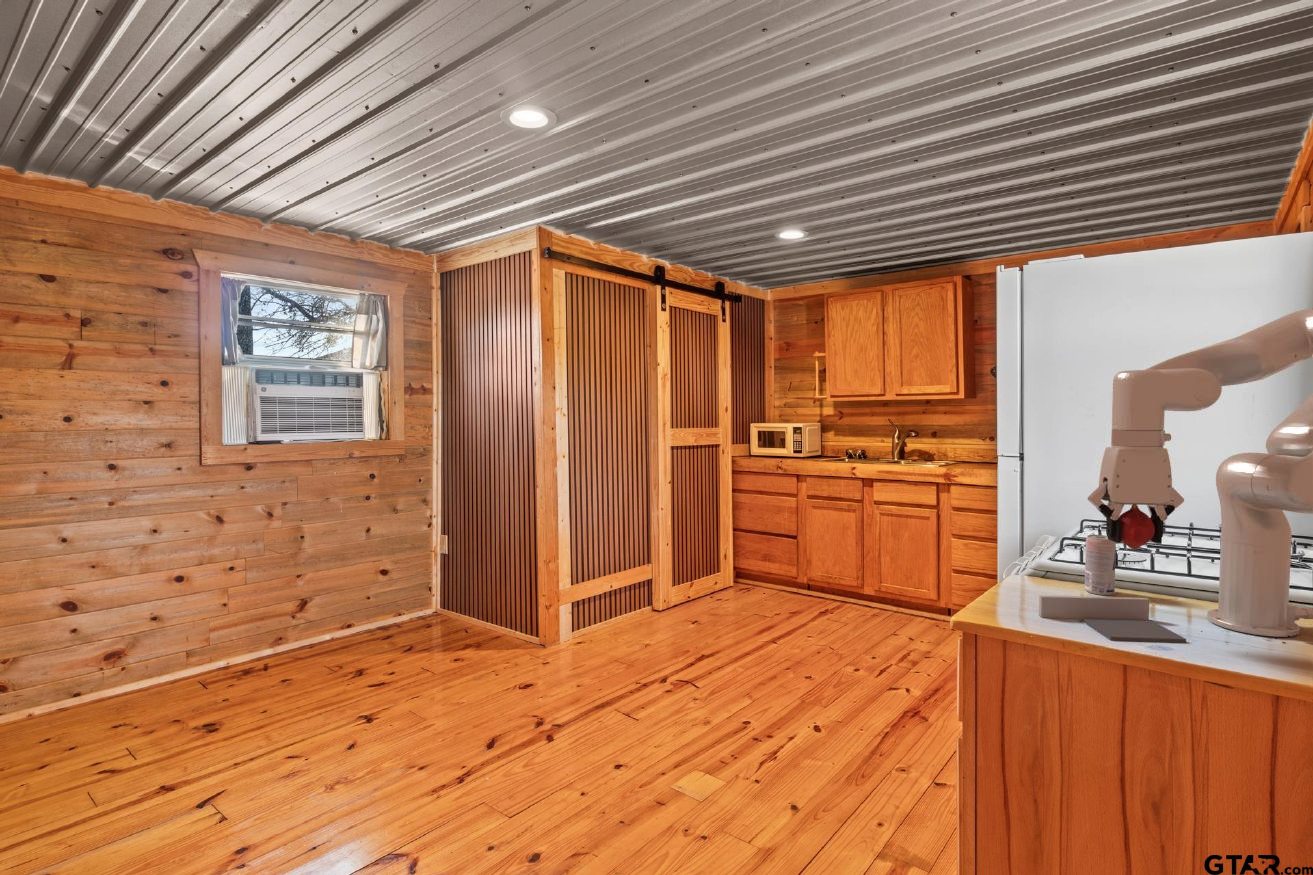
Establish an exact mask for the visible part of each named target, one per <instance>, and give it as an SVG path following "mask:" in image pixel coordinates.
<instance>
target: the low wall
mask: <svg viewBox="0 0 1313 875" xmlns="http://www.w3.org/2000/svg"><path fill="white" fill-rule="evenodd" d="M1038 604H1039V605H1038V616H1039V617H1040V618H1041V617H1052V619H1079V620H1082V618H1100V619H1137V620H1150V599H1149V598H1146V597H1126V596H1125V597H1117V596H1115V597H1114V596H1083V595H1082V596H1078V595H1076V596H1075V595H1042V594H1040V595H1039V596H1038ZM1057 617H1058V618H1057Z"/></svg>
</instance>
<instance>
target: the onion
mask: <svg viewBox="0 0 1313 875" xmlns="http://www.w3.org/2000/svg"><path fill="white" fill-rule="evenodd" d="M1150 518H1151V516H1149V515H1148V514H1146V513H1145V512H1144V511H1142V510H1141V509H1140V508H1139V506H1138V505H1131V508H1130V509H1128V510H1126V511H1124V512H1123V513H1122V514H1120V516H1119V520H1121V521H1122V541H1121V542H1122V543H1123V544H1124V545H1126V546H1127V547H1128V548H1130V549H1132V550H1138V549H1139V548H1140V547H1142V546H1144V545H1146V544H1148V543H1149V542H1151V541H1150V540H1151V539H1152V538H1153V536H1154V533H1155V527H1154V524H1153V522H1152V520H1151V519H1150Z"/></svg>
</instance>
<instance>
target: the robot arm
mask: <svg viewBox="0 0 1313 875" xmlns="http://www.w3.org/2000/svg"><path fill="white" fill-rule="evenodd" d="M1311 358H1312V359H1313V308H1307V309H1301V310H1297V311H1294V312H1290V313H1289V314H1285V315H1283V316H1281V317H1280V318H1277V319H1274V320H1273V321H1270V322H1268V323H1265V324H1264V325H1263V324H1262V325H1261V326H1258V327H1256V328H1254V329H1252V330H1250V331H1247V332H1245V333H1243V334H1241V335H1238V336H1235V337H1233V338H1231V339H1227V340H1224V341H1220V342H1217V343H1214V344H1211V345H1207V346H1205V347H1202V348H1199V349H1196V350H1191V351H1189V352H1186V353H1182V354H1179V355H1176V356H1174V357H1171V358H1167V359H1166V360H1164V361H1161V362H1159V363H1157V364H1155V365H1152V366H1150V367H1148V368H1145V369H1135V370H1134V369H1131V370H1121V371H1119V372H1117V373H1115V375H1114V377H1113V380H1112V381H1113V382H1112V404H1111V405H1112V410H1111V441H1110V442H1111V443H1110V445H1111V446H1109V447H1108V446H1107V447H1105V450H1104V453H1103V457H1102V461H1101V465H1100V472H1099V479H1098V487H1097V488H1096V489H1095V490H1094V491H1093V492H1091V494H1090V495H1089V496H1088V497H1087V501H1088V502H1089V503H1090V504H1091V505H1093V507H1095V508H1096V510H1098V512H1100V513H1101V514H1102V515H1103V517H1104V518H1106V521H1105V522H1106V523H1105V524H1106V526H1105V528H1106V529H1105V532H1106V535H1105V536H1108V539H1109V540H1111V541H1114V542H1116V544H1117V543H1118V544H1120V543H1121V542H1122V521H1121V520H1119V516H1120V515H1121V513H1122V511H1123V509H1124V507H1125V505H1128V506H1129V505H1131V506H1132V505H1137V506H1138V505H1141V506H1143V505H1145V506H1146V507H1147V509H1148V511H1149V515H1150V519H1151V520H1152V522H1153V524H1154V527H1155V533H1154V536H1153V538H1152V539H1151V540H1150V541H1149V542H1153V543H1154V544H1155V543H1156V544H1162V538H1163V537H1164V521H1167V519H1168V517H1169V516H1170V515H1171V514H1172V513H1174V511H1176V509H1177V508H1178V507H1179V506H1181V505H1182V504H1183V503H1185V498H1184V497H1183V496H1182V495H1181V494H1180V493H1179V492H1178V491H1177V490H1176V489H1175V488H1174V487H1173V478H1172V466H1171V460H1170V455H1169V450H1168V448H1164V446H1165V443H1166V442H1170V441H1171V440H1172V434H1170V433H1166V430H1165V411H1173V412H1196V411H1197V412H1198V411H1202V410H1205V409H1207V408H1210V407H1212V406H1213V405H1214V404H1216V403H1217V401H1218V400H1219V399H1220V397H1221V395H1222V391H1223V390H1222V388H1223V387H1228V386H1236V385H1243V384H1248V383H1252V382H1258V381H1261V380H1264V379H1267V378H1269V377H1271V376H1273V375H1276V374H1278V373H1280V372H1282V371H1284V370H1287V369H1289V368H1291V367H1293V366H1295V365H1297V364H1300V363H1302V362H1305V361H1307V360H1308V359H1311ZM1265 449H1266V451H1267V453H1265V452H1243V453H1242V452H1241V453H1236V454H1233V455H1232V456H1228V457H1227V458H1225V459H1224V460H1223V461H1221V463H1220V465H1219V466H1218V467H1217V469H1216V470H1217V471H1216V473H1215V485H1216V491H1217V494H1218V495H1217V496H1218V499H1219V505H1220V516H1221V517H1220V518H1221V524H1220V526H1221V529H1220V550H1219V551H1220V555H1219V557H1220V560H1219V580H1218V581H1219V582H1218V603H1217V604H1218V608H1216V609H1210V610H1209V611H1207V615H1206V618H1207V620H1208V621H1209V622H1211V623H1212V624H1215V625H1216V626H1219V627H1222V628H1225V629H1228V630H1231V631H1235V632H1239V633H1243V634H1250V635H1256V636H1263V637H1264V636H1266V637H1275V638H1276V637H1278V638H1287V637H1288V636H1290V637H1295V636H1297V635H1299V634H1300V630H1301V629H1300V626H1299V624H1297V623H1296V621H1299V620H1300V619H1304V620H1313V608H1310V607H1304V608H1303V607H1301V608H1299V607H1298V606H1297V605H1293V604H1290V602H1289V601H1290V580H1291V579H1290V578H1291V561H1292V560H1291V558H1292V540H1293V539H1292V538H1293V536H1292V530H1291V525H1290V522H1289V520H1288V519H1287V518H1288V517H1287V516H1286V514H1285V513H1284V511H1285V512H1290V513H1291V512H1292V513H1293V512H1294V513H1297V514H1299V513H1300V514H1308V515H1311V514H1312V515H1313V393H1311V395H1310V396H1309V397H1308V398H1307V399H1306V400H1305V401H1304V402H1303V403H1302V404H1301V405H1299V407H1297V408H1296V409H1295V410H1294V411H1293V412H1292V413H1290V414H1289V415H1288V416H1287V417H1286V418H1285V419H1284V420H1282V421H1281V422H1280V423H1279V424H1278V425H1277V426H1276V427H1275V428H1274V429H1273V430H1272V431H1271V432H1270V433H1269V435H1268V437H1267V439H1266V442H1265ZM1103 501H1105V502H1107V503H1104V502H1103ZM1296 634H1297V635H1296ZM1294 635H1295V636H1294Z"/></svg>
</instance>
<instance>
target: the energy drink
mask: <svg viewBox="0 0 1313 875" xmlns="http://www.w3.org/2000/svg"><path fill="white" fill-rule="evenodd" d="M1086 536H1087V537H1086V539H1085V562H1084V563H1085V564H1084V566H1085V567H1084V568H1085V569H1084V572H1085V573H1084V590H1085V591H1086V592H1087V593H1089V594H1091V595H1096V596H1112V595H1113V596H1114V594H1115V588H1116V554H1117V549H1116V548H1117V543H1116V542H1114V541H1111V540H1109V539H1108V536H1107V535H1103V534H1088V535H1086Z"/></svg>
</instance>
